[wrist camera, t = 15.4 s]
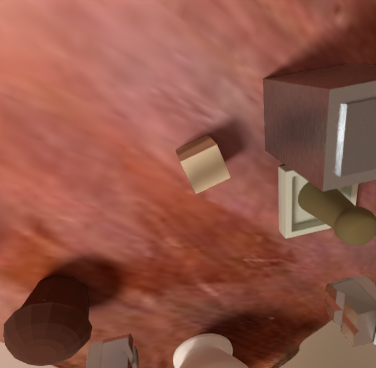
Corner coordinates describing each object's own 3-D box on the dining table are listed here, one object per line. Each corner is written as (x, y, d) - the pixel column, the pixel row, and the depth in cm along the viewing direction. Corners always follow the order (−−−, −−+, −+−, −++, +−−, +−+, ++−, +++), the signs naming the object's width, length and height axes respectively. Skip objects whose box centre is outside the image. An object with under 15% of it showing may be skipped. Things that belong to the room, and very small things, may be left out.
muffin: (94, 266, 44) (83, 319, 35) (100, 316, 49) (92, 374, 40) (13, 273, 42) (-20, 331, 33) (28, 324, 47) (2, 387, 38)
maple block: (175, 149, 38) (180, 161, 34) (207, 134, 38) (217, 144, 34) (189, 179, 41) (195, 194, 36) (220, 164, 40) (230, 177, 36)
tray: (278, 166, 42) (285, 172, 40) (351, 151, 43) (362, 155, 41) (279, 230, 47) (285, 238, 45) (344, 215, 48) (353, 222, 46)
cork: (291, 207, 45) (334, 249, 35) (308, 173, 43) (360, 208, 33) (321, 214, 47) (370, 256, 37) (339, 183, 44) (396, 218, 35)
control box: (263, 78, 36) (332, 90, 23) (347, 63, 37) (459, 65, 24) (265, 152, 41) (324, 195, 28) (340, 136, 42) (432, 171, 29)
